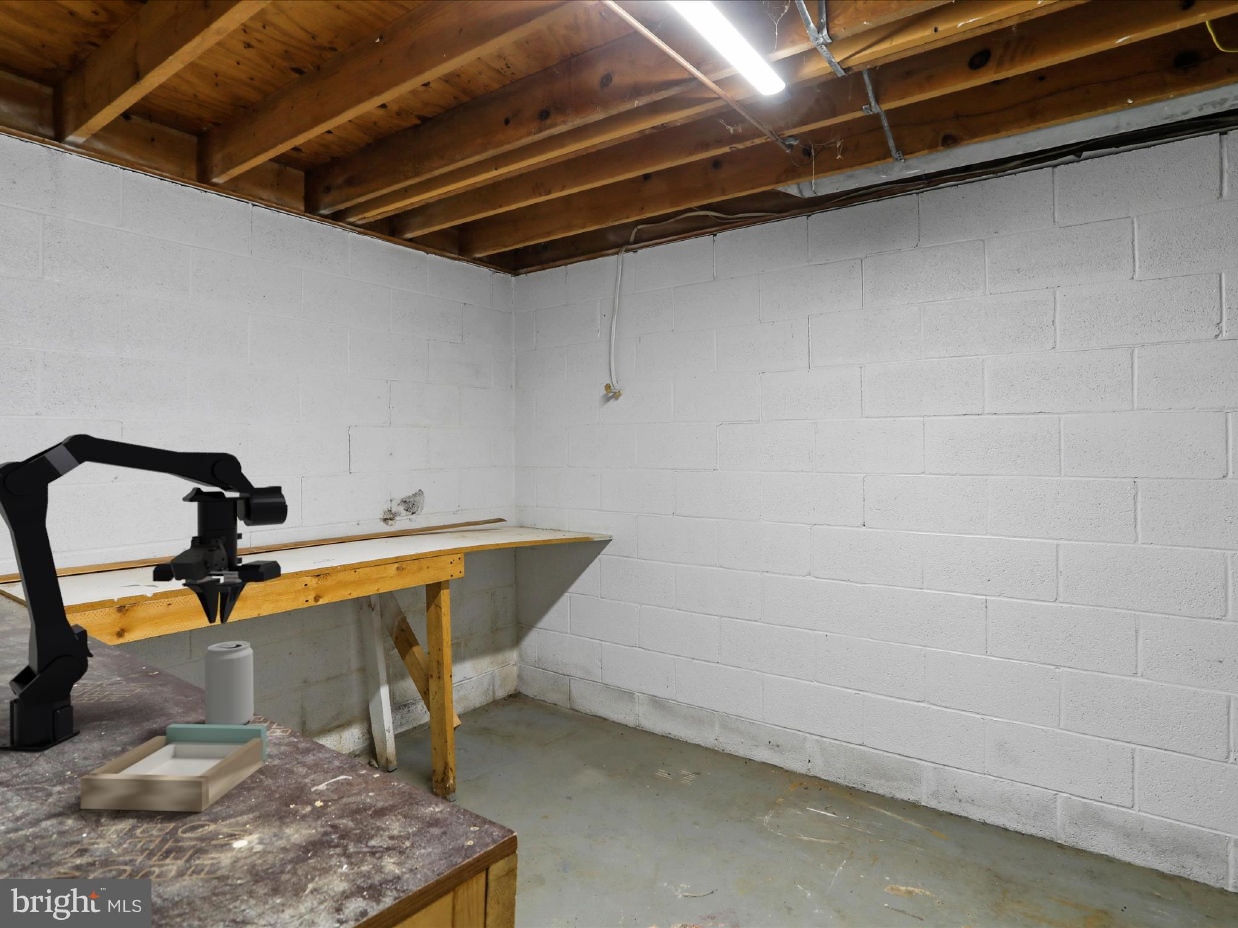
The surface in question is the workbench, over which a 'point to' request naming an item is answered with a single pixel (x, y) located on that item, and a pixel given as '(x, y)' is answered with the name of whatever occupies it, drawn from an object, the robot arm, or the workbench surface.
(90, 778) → the dock
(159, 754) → the tray
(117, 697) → the workbench surface
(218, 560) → the robot arm
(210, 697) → the beverage can
